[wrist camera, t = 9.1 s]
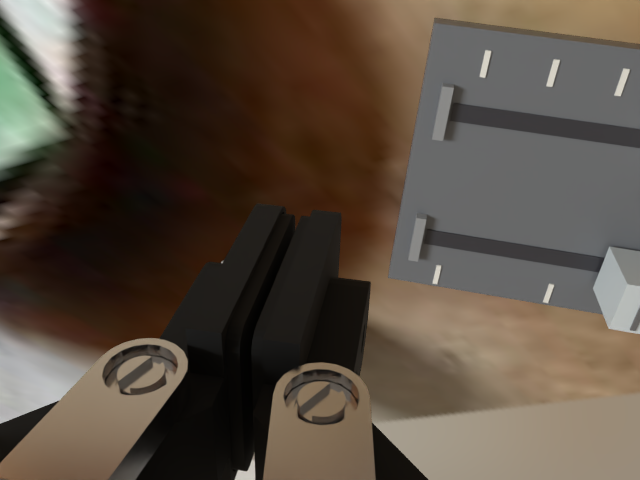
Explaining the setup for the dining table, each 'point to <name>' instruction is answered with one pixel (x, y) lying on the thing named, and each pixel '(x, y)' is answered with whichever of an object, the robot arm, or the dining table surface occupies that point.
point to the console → (521, 164)
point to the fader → (620, 289)
